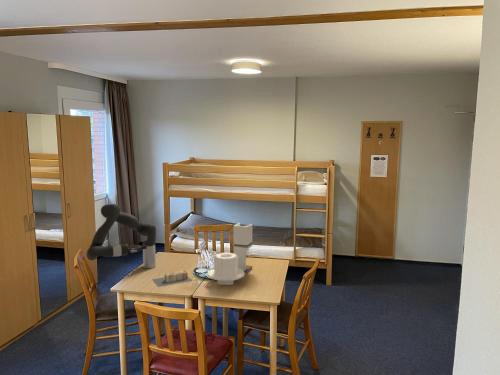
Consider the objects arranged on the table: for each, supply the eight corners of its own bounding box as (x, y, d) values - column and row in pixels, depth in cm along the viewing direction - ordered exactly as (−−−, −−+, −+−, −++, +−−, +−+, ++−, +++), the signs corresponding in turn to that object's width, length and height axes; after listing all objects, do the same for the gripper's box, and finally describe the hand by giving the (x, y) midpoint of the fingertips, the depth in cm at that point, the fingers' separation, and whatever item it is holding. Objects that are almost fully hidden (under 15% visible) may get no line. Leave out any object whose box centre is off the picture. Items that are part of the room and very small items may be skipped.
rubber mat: (152, 280, 277) (152, 279, 277) (184, 274, 289) (184, 273, 288) (158, 287, 263) (158, 286, 263) (192, 281, 275) (192, 280, 275)
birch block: (164, 273, 275) (185, 270, 282) (164, 280, 276) (185, 276, 283) (166, 275, 271) (187, 272, 278) (166, 282, 272) (187, 278, 279)
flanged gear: (245, 276, 285) (245, 250, 283) (242, 289, 261) (242, 261, 258) (211, 275, 287) (210, 250, 285) (205, 288, 262) (204, 260, 260)
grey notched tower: (246, 273, 292) (247, 226, 288) (233, 271, 296) (233, 225, 291) (252, 268, 302) (252, 223, 298) (239, 267, 306) (239, 222, 302)
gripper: (121, 247, 252) (148, 244, 260) (117, 242, 263) (143, 239, 272) (121, 258, 253) (149, 255, 261) (117, 253, 264) (143, 249, 273)
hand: (146, 247), depth 267 cm, fingers closed
